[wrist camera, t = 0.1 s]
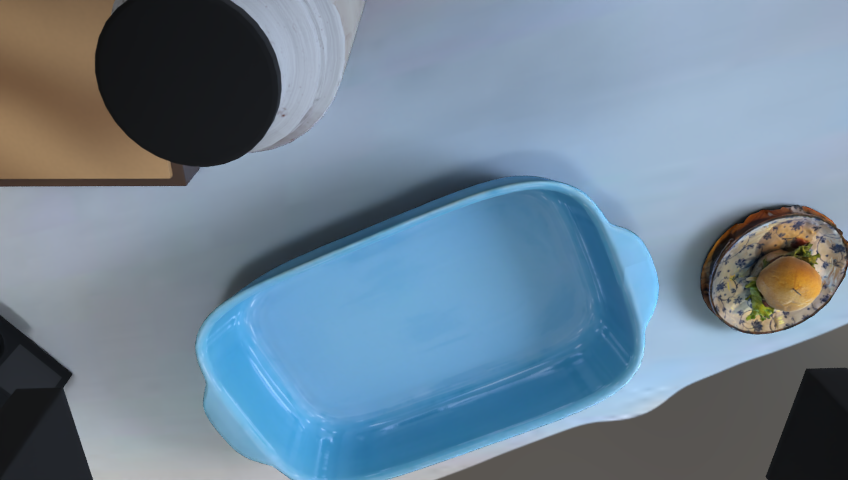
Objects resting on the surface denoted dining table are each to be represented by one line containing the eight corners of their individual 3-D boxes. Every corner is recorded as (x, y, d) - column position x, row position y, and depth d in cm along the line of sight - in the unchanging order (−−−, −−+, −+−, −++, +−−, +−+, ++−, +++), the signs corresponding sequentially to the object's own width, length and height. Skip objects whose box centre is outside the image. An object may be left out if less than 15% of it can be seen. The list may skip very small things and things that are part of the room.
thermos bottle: (220, -26, 41) (-41, 57, 16) (311, -109, 39) (172, -163, 14) (303, 71, 44) (190, 265, 19) (390, -2, 42) (390, 108, 17)
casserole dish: (297, 461, 61) (286, 524, 55) (163, 288, 52) (132, 339, 45) (656, 326, 56) (690, 378, 50) (583, 104, 46) (614, 133, 40)
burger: (720, 343, 57) (764, 398, 50) (680, 245, 52) (723, 293, 45) (850, 285, 55) (914, 335, 48) (821, 178, 50) (888, 217, 43)
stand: (-54, -35, 40) (-97, -31, 36) (167, -32, 41) (146, -28, 37) (9, 169, 46) (-23, 190, 43) (199, 169, 47) (184, 189, 43)
